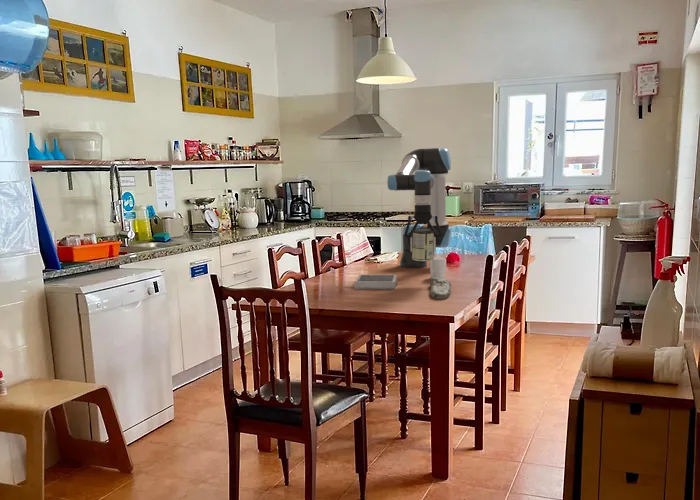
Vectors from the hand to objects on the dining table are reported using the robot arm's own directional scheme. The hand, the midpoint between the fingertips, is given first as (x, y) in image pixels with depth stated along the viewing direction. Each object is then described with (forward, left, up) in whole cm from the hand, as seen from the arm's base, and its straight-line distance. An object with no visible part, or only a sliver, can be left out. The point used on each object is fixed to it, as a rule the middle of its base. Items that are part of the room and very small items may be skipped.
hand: (423, 251), depth 282 cm
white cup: (-15, +7, -16) cm, 23 cm away
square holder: (+3, -22, -16) cm, 27 cm away
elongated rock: (+15, +8, -16) cm, 23 cm away
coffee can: (-1, 0, -4) cm, 4 cm away
